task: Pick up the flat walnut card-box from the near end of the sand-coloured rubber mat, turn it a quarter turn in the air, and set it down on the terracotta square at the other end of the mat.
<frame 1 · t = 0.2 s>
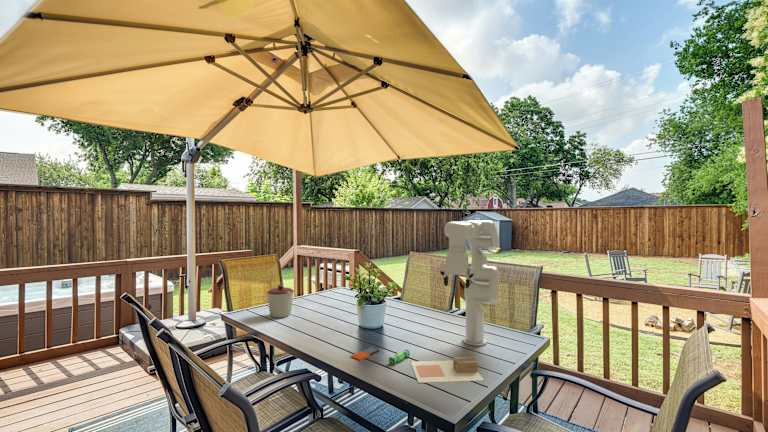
hand: (456, 286, 161), 36 cm above the table, tool pointing down, fingers open, 9 cm apart
walnut card box: (465, 369, 156), resting on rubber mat
orange grey slab: (365, 355, 173), on the table
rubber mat: (445, 371, 155), on the table
candy: (399, 360, 167), on the table
canister: (280, 316, 235), on the table
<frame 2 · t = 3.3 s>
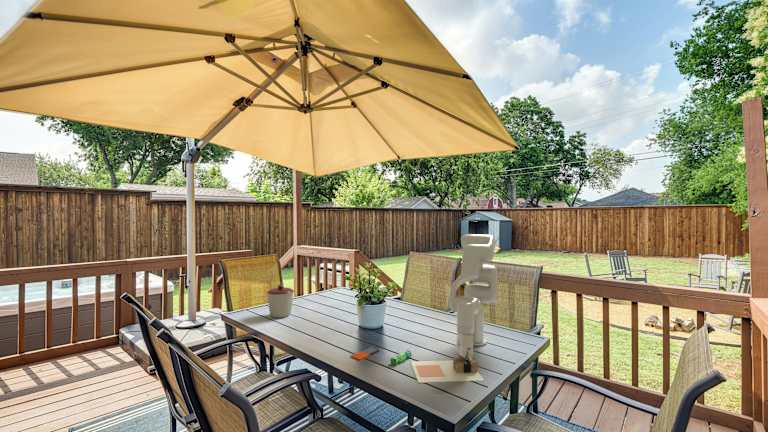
hand: (465, 368, 156), 1 cm above the table, tool pointing down, fingers closed on walnut card box, 6 cm apart
walnut card box: (465, 369, 156), resting on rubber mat, touching gripper
when the fingers open (2 cm above the table, at t = 9.5 s): walnut card box stays where it is, resting on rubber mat.
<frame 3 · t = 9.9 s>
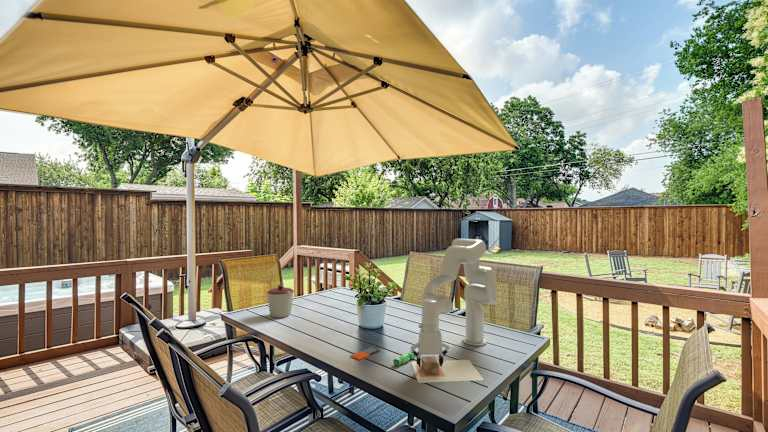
hand: (429, 365, 155), 3 cm above the table, tool pointing down, fingers open, 9 cm apart
walnut card box: (429, 370, 155), resting on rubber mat
candy: (404, 362, 165), on the table
everything else where it was.
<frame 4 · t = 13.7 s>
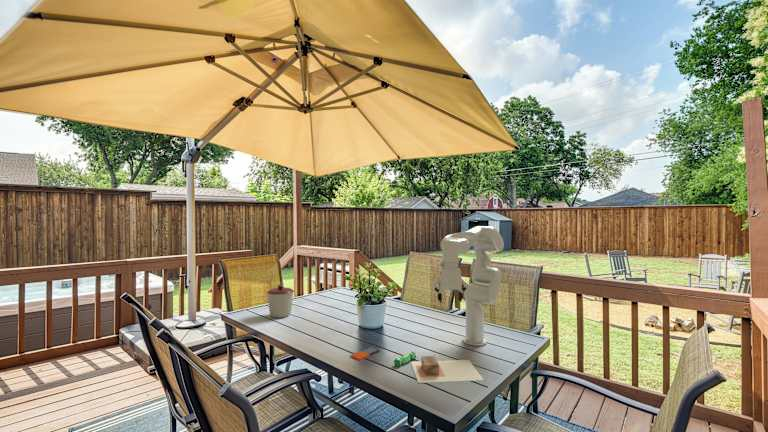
hand: (450, 301, 166), 28 cm above the table, tool pointing down, fingers open, 9 cm apart
at the end: walnut card box inside the target area (0.0 cm from its centre), resting on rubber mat; walnut card box tilted 0°; the gripper is holding nothing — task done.
